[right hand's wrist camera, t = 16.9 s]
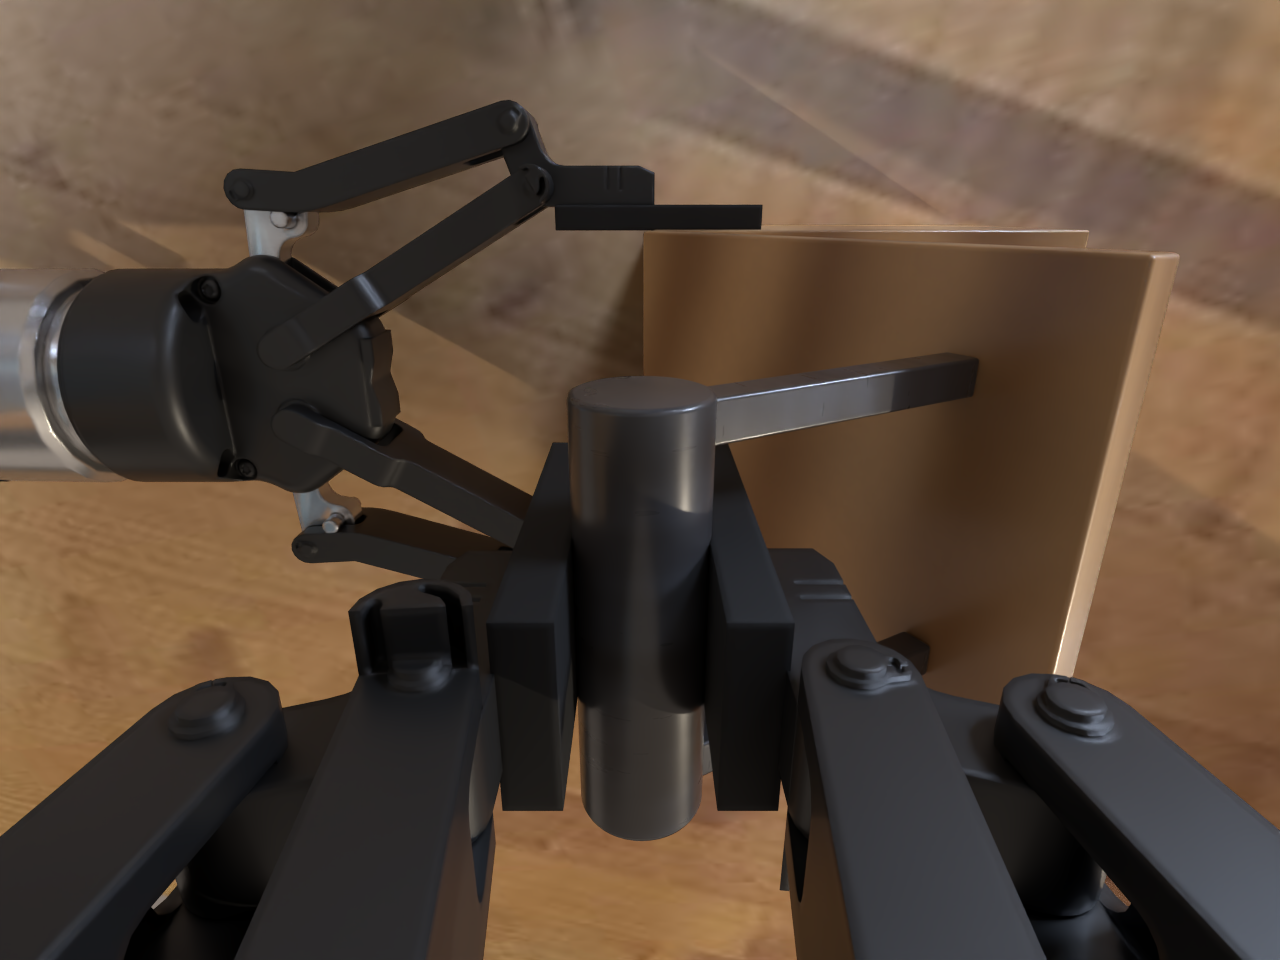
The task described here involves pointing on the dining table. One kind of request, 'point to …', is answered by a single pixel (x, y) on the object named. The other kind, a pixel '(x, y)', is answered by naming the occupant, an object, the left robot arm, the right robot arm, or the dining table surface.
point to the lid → (849, 468)
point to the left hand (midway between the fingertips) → (746, 377)
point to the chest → (928, 234)
